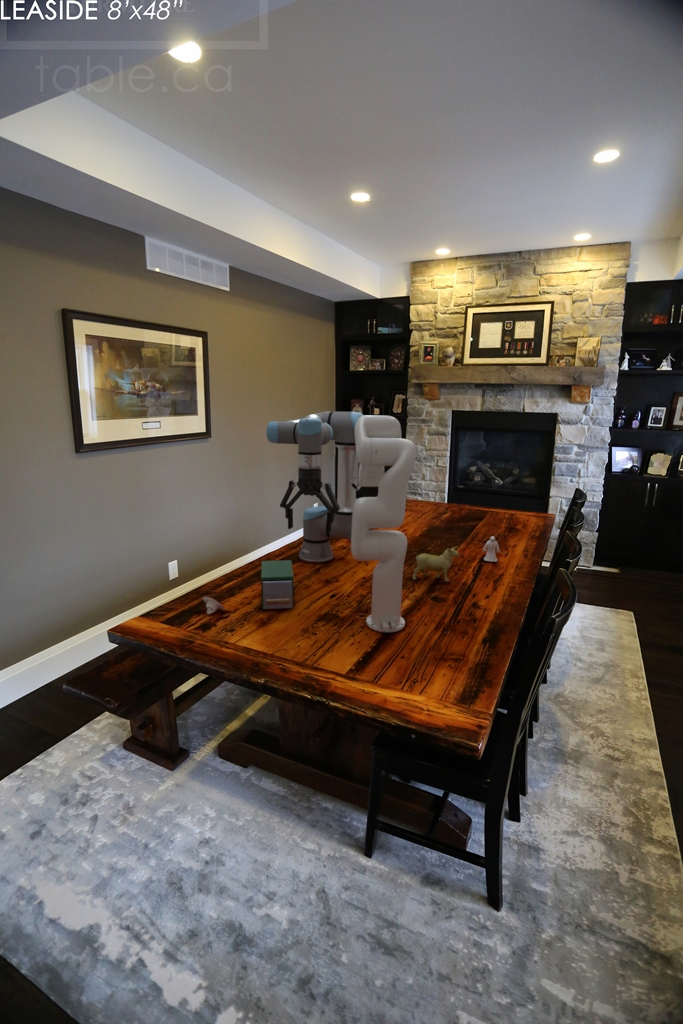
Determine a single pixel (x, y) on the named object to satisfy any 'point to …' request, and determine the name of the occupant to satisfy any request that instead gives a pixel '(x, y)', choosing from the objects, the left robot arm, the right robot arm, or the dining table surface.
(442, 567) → the toy
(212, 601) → the seashell
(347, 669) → the dining table surface
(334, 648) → the dining table surface
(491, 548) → the figurine
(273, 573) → the cabinet
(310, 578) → the dining table surface
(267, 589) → the drawer
